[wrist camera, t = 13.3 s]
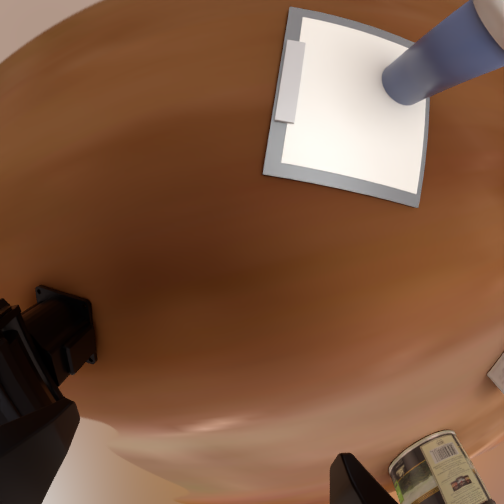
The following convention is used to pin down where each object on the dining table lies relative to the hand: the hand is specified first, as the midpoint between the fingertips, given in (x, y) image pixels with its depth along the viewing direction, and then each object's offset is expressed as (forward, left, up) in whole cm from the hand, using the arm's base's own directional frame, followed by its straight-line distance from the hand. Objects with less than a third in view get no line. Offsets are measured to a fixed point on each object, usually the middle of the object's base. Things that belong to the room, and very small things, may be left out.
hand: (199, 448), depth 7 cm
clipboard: (+6, +15, -13) cm, 21 cm away
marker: (+9, +17, -12) cm, 23 cm away
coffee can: (+27, -20, -13) cm, 36 cm away
